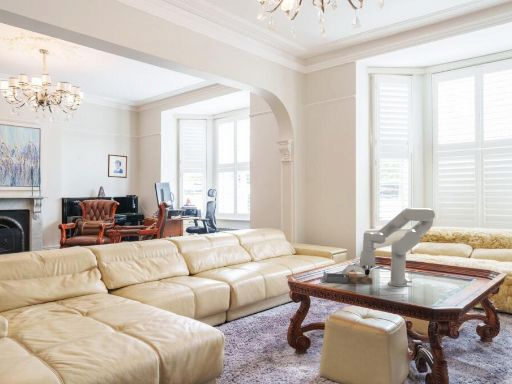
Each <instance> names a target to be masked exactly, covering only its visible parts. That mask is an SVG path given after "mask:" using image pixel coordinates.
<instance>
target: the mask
mask: <svg viewBox="0 0 512 384" xmlns="http://www.w3.org/2000/svg"><path fill="white" fill-rule="evenodd" d="M348 272H362V273H363V274H365V269H364V268H363V267H361V266H360V261H355V262H354V263H353V264H351V263H349V264H348V265H347V266H346V267H344V269H343V270H342V271H341V273H340V274H344V276H345V277H346V274H348Z"/></svg>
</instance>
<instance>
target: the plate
mask: <svg viewBox="0 0 512 384" xmlns="http://www.w3.org/2000/svg"><path fill="white" fill-rule="evenodd" d="M345 277H346V278H348V284H366V285H373V277H372V276H370V275H369V276H368V275H365V274H364V277H357V276H356V277H354V276H349V275H348V274H346V275H345Z"/></svg>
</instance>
